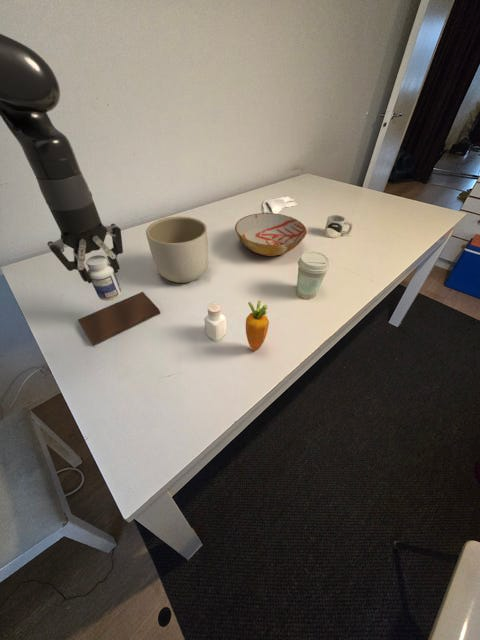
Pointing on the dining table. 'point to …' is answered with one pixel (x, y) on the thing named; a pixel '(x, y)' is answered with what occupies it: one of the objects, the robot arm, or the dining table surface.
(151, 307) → the board
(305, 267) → the coffee cup
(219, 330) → the pepper shaker
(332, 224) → the mug
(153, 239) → the planter
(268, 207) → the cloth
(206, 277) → the dining table surface
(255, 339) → the carrot
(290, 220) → the bowl
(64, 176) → the robot arm
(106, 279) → the pill bottle
